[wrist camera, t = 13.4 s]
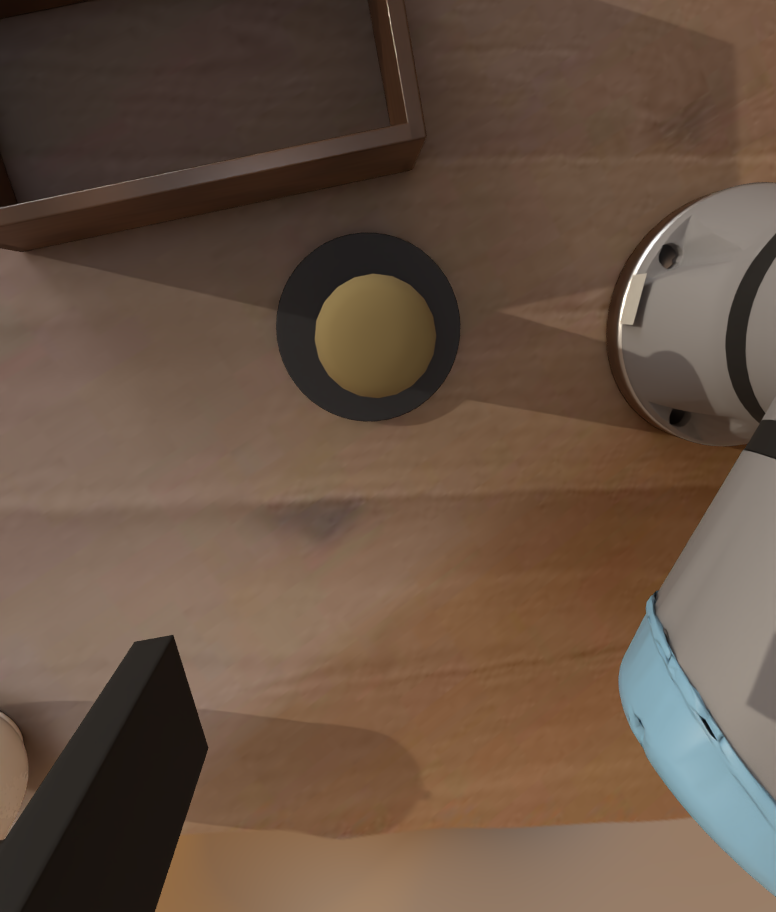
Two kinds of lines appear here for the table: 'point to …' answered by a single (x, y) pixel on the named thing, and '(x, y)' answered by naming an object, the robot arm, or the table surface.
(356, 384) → the cork
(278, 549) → the table surface
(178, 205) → the box
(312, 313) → the coaster
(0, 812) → the trinket box
